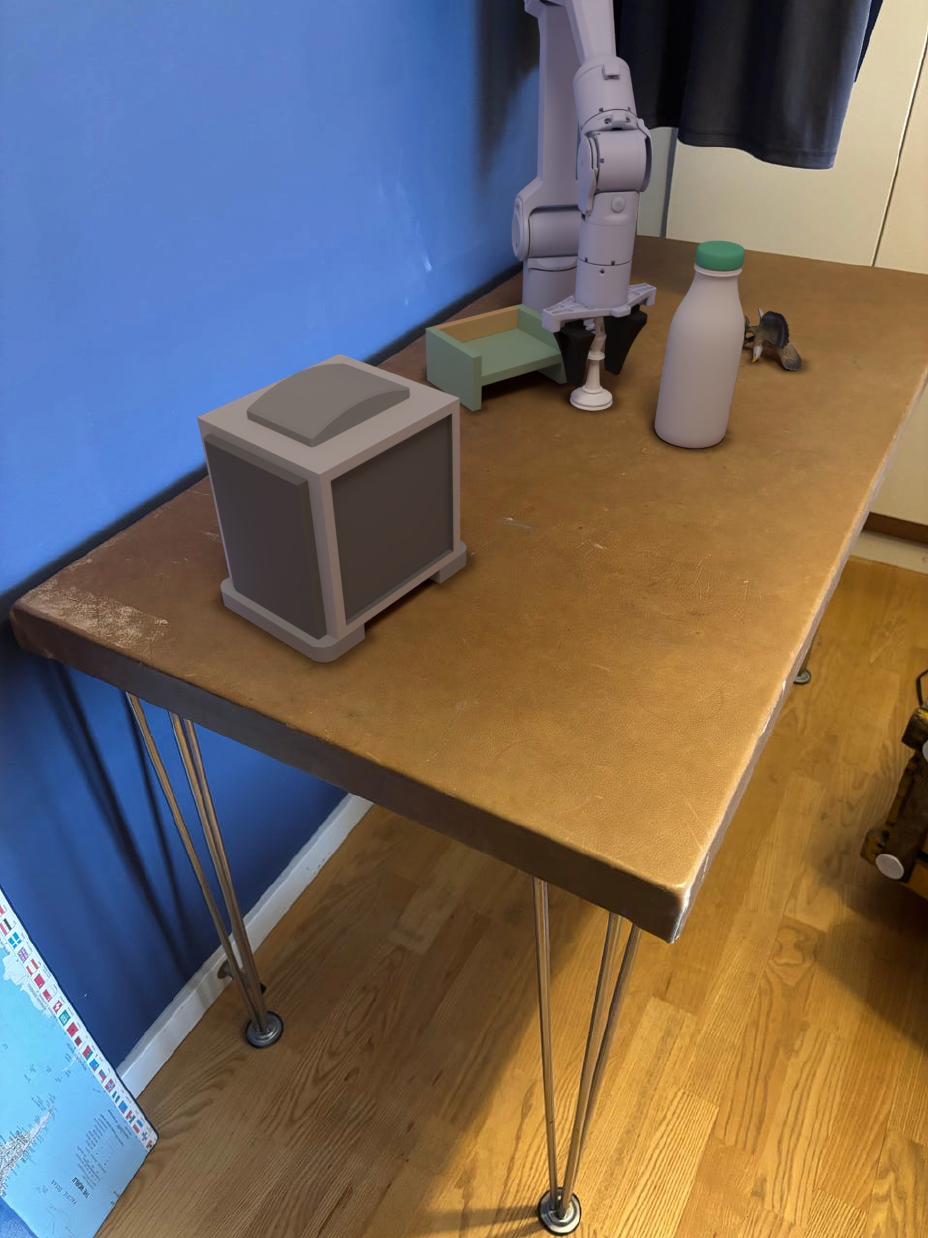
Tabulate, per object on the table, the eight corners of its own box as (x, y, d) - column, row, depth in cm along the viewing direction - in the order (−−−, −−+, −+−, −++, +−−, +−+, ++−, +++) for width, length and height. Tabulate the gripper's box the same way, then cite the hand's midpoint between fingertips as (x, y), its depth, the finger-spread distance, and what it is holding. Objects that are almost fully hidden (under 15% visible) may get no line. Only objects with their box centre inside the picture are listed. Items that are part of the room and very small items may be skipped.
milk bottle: (725, 453, 97) (764, 262, 84) (652, 446, 98) (680, 256, 85) (724, 420, 103) (761, 236, 90) (655, 413, 104) (681, 231, 91)
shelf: (519, 353, 117) (521, 303, 113) (568, 382, 110) (572, 329, 106) (426, 380, 111) (425, 328, 107) (472, 411, 104) (473, 357, 100)
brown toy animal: (715, 351, 115) (780, 359, 109) (734, 294, 114) (800, 299, 108) (742, 368, 120) (806, 377, 114) (761, 314, 119) (825, 321, 113)
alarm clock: (367, 510, 88) (352, 326, 77) (472, 560, 82) (473, 368, 70) (216, 601, 78) (172, 402, 66) (324, 667, 71) (297, 460, 59)
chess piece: (563, 405, 106) (569, 320, 99) (579, 388, 109) (586, 305, 103) (603, 414, 104) (612, 329, 98) (618, 397, 107) (628, 313, 101)
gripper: (575, 281, 90) (565, 407, 99) (682, 254, 96) (664, 375, 105) (532, 261, 95) (526, 383, 103) (637, 237, 101) (623, 354, 110)
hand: (593, 377), depth 105 cm, fingers open, 5 cm apart
